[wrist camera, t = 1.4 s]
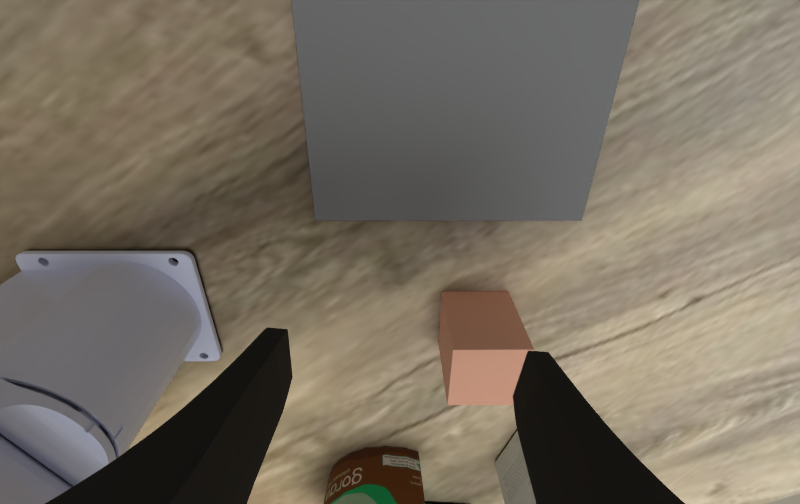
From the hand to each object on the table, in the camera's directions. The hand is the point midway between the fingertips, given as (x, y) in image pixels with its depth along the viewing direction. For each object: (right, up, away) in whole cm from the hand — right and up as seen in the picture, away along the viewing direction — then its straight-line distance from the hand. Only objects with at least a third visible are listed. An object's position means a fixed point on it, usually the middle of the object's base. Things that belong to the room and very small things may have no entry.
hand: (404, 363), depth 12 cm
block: (+4, -1, +13) cm, 14 cm away
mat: (+3, +11, +6) cm, 12 cm away
